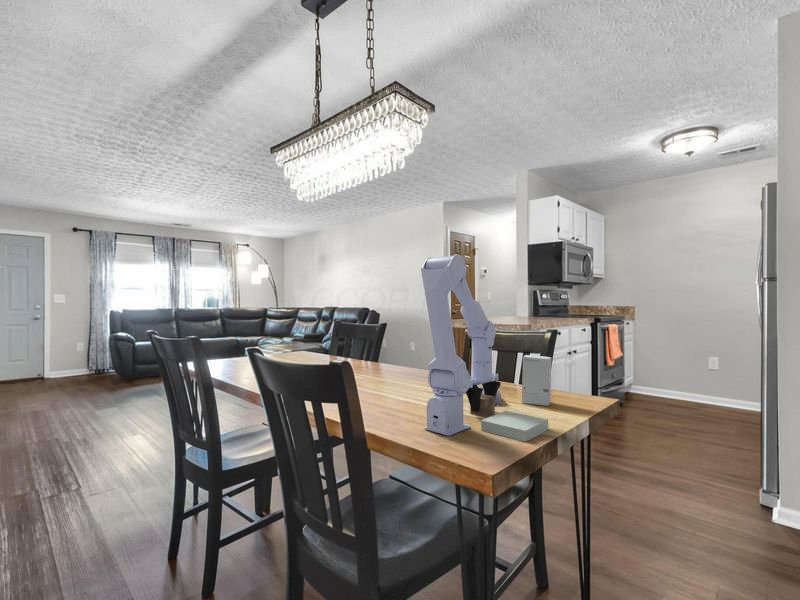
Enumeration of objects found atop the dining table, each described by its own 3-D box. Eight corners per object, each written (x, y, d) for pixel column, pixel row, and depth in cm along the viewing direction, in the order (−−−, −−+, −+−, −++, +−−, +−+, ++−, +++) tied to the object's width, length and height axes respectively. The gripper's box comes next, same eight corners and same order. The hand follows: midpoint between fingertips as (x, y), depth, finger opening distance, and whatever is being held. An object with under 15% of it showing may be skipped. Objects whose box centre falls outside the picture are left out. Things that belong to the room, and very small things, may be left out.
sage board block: (525, 443, 92) (525, 430, 92) (481, 432, 100) (481, 420, 100) (548, 431, 100) (548, 419, 100) (505, 421, 109) (505, 410, 109)
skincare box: (521, 403, 126) (521, 356, 126) (525, 399, 131) (524, 354, 131) (549, 406, 122) (549, 358, 122) (552, 402, 127) (551, 355, 128)
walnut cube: (485, 417, 112) (485, 399, 112) (470, 414, 115) (470, 396, 115) (494, 413, 115) (494, 396, 115) (480, 410, 119) (479, 393, 119)
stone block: (473, 411, 125) (504, 404, 125) (470, 396, 125) (501, 389, 125) (468, 403, 137) (496, 397, 136) (465, 389, 137) (493, 383, 137)
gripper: (479, 366, 107) (480, 416, 107) (507, 360, 118) (507, 406, 118) (458, 363, 112) (459, 411, 112) (486, 358, 123) (487, 402, 123)
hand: (482, 408), depth 115 cm, fingers open, 7 cm apart
